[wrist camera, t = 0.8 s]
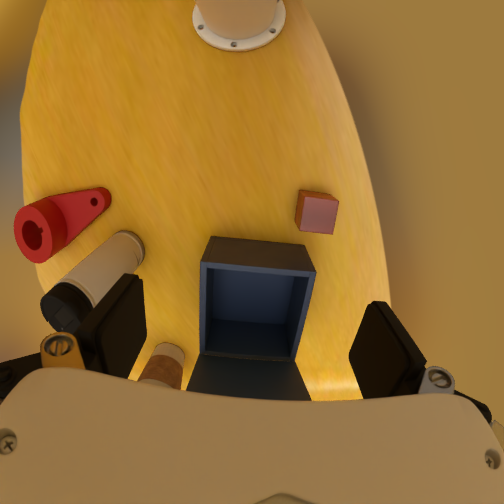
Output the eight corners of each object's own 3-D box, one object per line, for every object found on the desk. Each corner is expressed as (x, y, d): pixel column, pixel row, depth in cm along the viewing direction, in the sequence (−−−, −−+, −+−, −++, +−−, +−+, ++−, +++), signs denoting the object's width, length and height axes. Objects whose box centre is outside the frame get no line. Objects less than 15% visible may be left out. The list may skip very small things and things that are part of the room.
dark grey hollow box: (210, 235, 40) (200, 261, 32) (304, 245, 41) (316, 272, 33) (207, 318, 46) (199, 354, 38) (288, 325, 46) (294, 361, 38)
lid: (176, 415, 22) (178, 454, 22) (321, 423, 22) (310, 461, 23) (199, 353, 37) (198, 386, 38) (295, 361, 38) (289, 393, 38)
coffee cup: (173, 331, 47) (151, 395, 33) (200, 362, 50) (187, 426, 36) (140, 344, 49) (114, 403, 35) (166, 373, 51) (149, 432, 38)
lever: (49, 253, 41) (28, 269, 35) (30, 207, 38) (7, 218, 32) (121, 223, 39) (101, 237, 33) (100, 166, 36) (76, 172, 30)
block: (299, 189, 38) (304, 196, 33) (330, 194, 38) (339, 200, 34) (294, 220, 39) (299, 230, 35) (324, 224, 40) (332, 234, 35)
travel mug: (154, 252, 41) (94, 333, 23) (127, 273, 43) (67, 354, 24) (128, 220, 39) (50, 284, 21) (103, 245, 41) (29, 312, 22)
